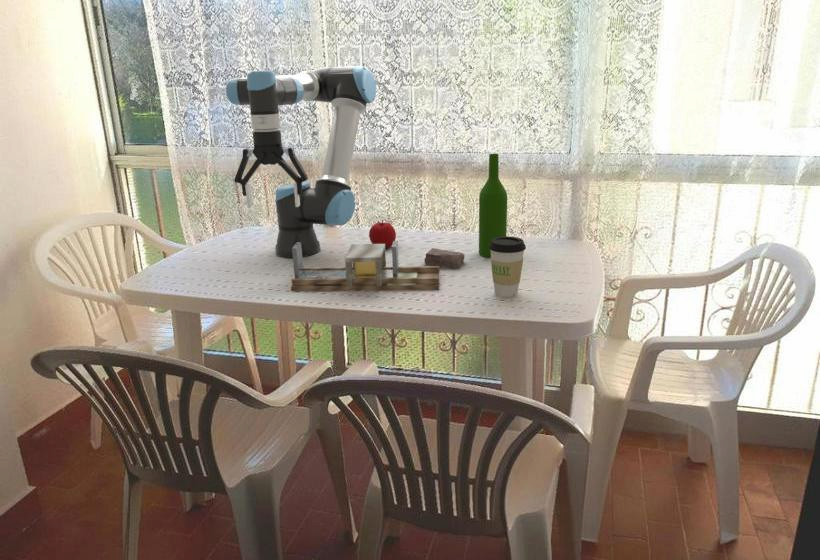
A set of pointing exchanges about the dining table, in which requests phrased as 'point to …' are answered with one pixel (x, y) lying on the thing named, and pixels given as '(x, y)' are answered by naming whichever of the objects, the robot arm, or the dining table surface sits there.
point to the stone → (444, 258)
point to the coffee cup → (506, 264)
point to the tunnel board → (371, 253)
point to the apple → (382, 234)
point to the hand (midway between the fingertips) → (274, 206)
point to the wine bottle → (492, 208)
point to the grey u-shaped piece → (360, 270)
